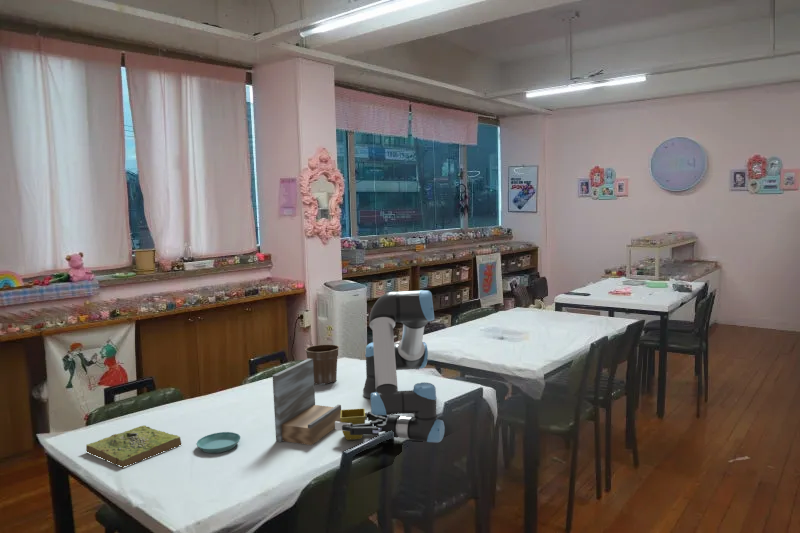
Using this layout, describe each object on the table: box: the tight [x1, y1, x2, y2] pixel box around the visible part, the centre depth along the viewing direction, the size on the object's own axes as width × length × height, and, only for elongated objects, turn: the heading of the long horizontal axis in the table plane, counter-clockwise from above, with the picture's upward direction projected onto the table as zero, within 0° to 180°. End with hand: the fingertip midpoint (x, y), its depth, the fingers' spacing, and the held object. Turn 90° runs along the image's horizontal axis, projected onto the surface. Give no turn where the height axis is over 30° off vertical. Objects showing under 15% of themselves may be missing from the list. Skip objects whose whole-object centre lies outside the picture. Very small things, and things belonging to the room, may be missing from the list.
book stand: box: [271, 358, 342, 446], centre depth 214 cm, size 14×24×24 cm, turn 157°
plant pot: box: [304, 344, 340, 385], centre depth 278 cm, size 16×16×16 cm
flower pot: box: [340, 408, 366, 441], centre depth 207 cm, size 9×9×9 cm
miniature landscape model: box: [85, 425, 182, 467], centre depth 204 cm, size 22×24×5 cm
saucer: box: [195, 431, 241, 454], centre depth 203 cm, size 15×15×3 cm
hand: (343, 419), depth 209 cm, fingers closed on flower pot, 11 cm apart
